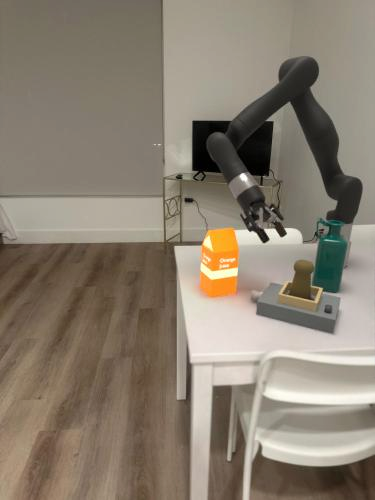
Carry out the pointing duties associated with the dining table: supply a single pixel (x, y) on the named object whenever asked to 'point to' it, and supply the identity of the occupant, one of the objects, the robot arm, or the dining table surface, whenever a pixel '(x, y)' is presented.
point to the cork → (302, 279)
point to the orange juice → (219, 263)
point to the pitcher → (329, 257)
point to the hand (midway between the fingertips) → (275, 238)
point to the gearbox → (298, 307)
